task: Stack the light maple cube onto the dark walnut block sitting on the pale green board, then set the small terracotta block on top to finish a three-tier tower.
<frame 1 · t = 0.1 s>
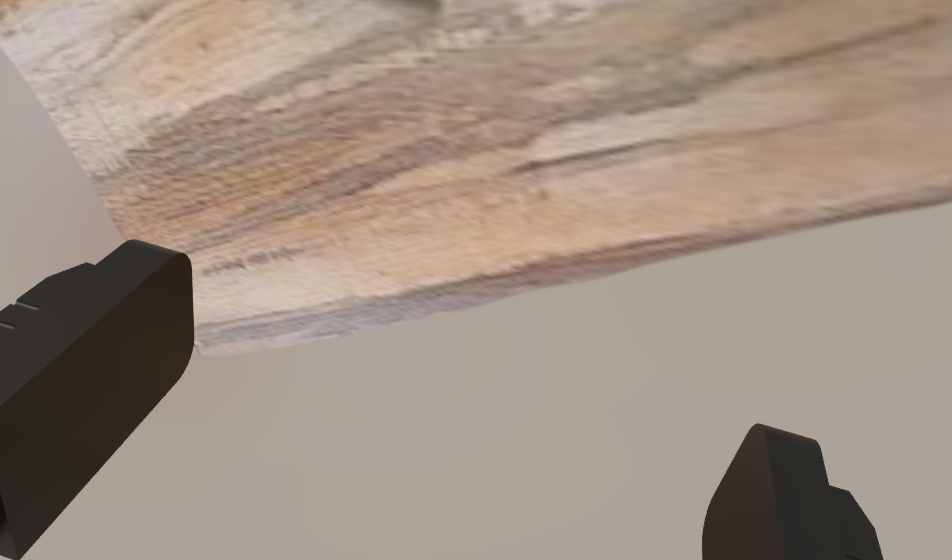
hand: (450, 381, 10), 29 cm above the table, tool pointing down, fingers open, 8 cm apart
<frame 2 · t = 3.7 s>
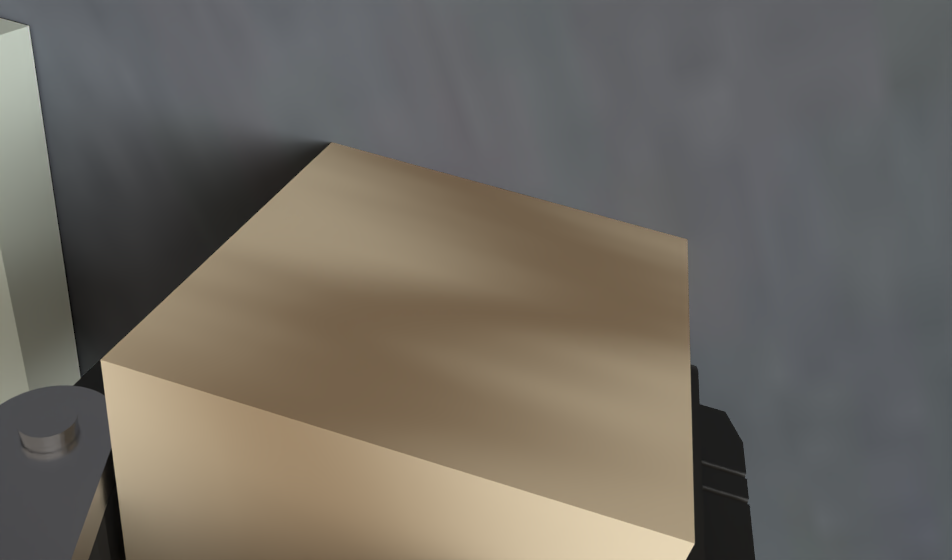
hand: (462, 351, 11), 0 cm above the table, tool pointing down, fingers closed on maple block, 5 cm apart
maple block: (472, 332, 11), on the table, touching gripper
when the fingers open (7 cm above the table, at t = 8.0 s): maple block drops 1 cm, resting on walnut block.
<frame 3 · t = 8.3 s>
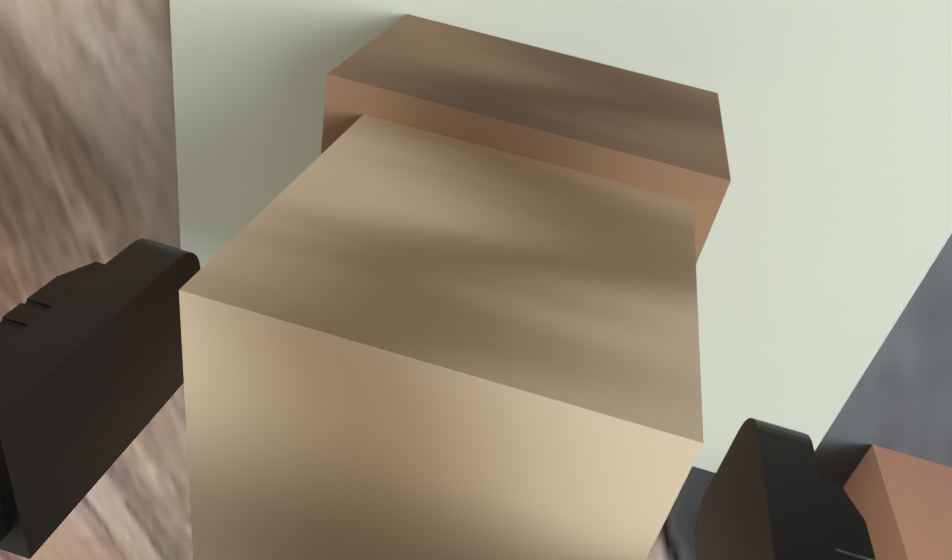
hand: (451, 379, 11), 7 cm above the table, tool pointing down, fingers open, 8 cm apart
walnut block: (525, 193, 16), point 1 cm above the table, touching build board, maple block
terracotta block: (917, 526, 20), on the table
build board: (534, 170, 17), on the table
maple block: (492, 294, 12), point 5 cm above the table, touching walnut block
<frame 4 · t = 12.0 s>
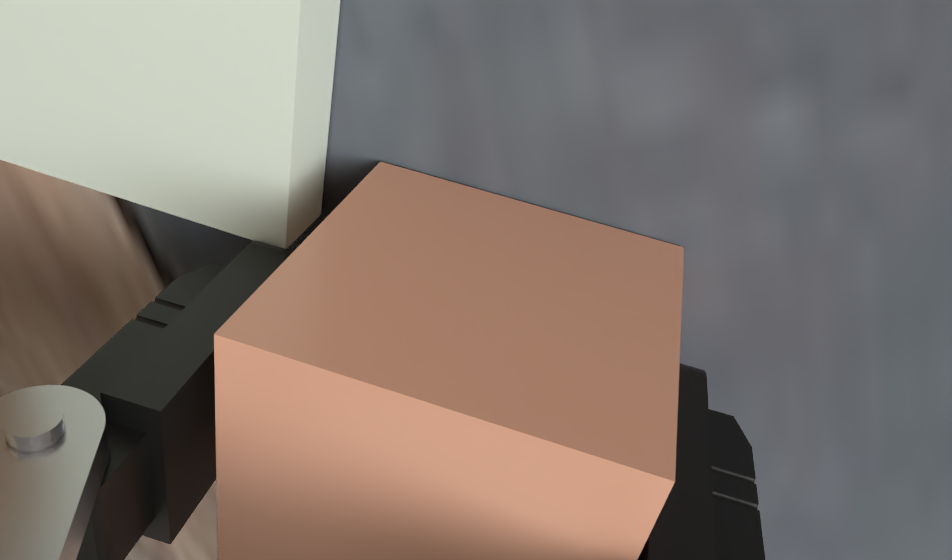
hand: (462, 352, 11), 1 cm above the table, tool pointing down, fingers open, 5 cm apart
terracotta block: (497, 327, 12), on the table, touching gripper
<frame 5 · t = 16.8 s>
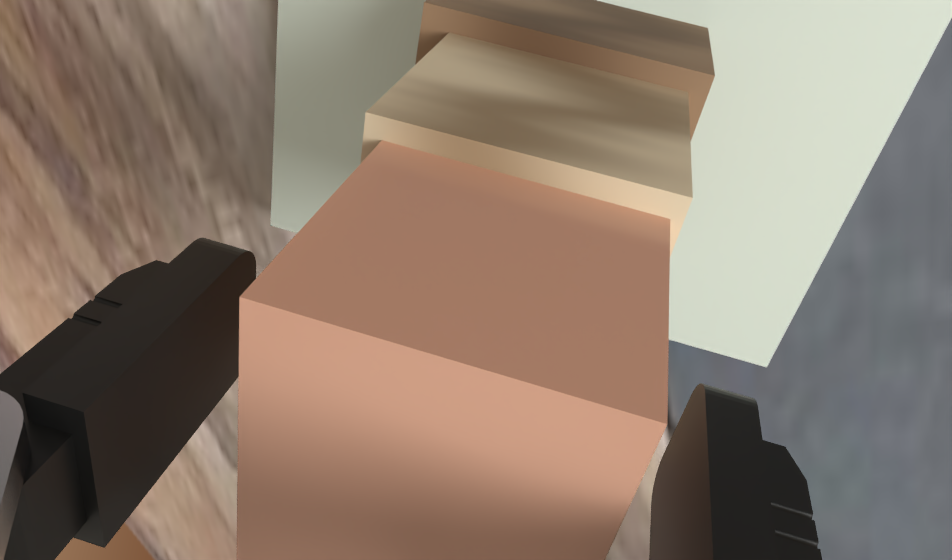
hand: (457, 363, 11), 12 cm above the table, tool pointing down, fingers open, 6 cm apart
walnut block: (557, 113, 20), point 1 cm above the table, touching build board, maple block
terracotta block: (494, 298, 12), point 10 cm above the table, touching maple block
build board: (563, 99, 21), on the table
maple block: (539, 172, 17), point 5 cm above the table, touching terracotta block, walnut block
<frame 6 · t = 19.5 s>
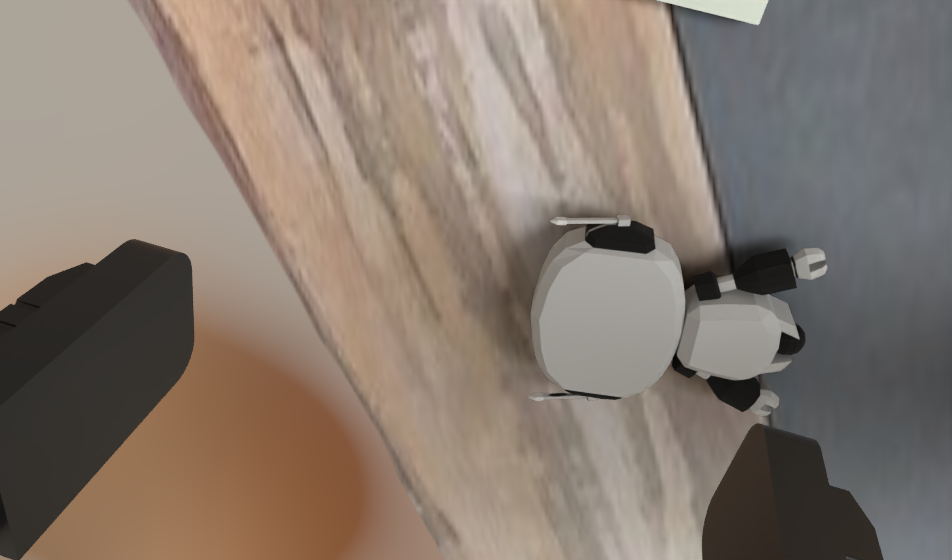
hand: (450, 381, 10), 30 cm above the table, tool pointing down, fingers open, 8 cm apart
robot toy: (665, 295, 44), on the table
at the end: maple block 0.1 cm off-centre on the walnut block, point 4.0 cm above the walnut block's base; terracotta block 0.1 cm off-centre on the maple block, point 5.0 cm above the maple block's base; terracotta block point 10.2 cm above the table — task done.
